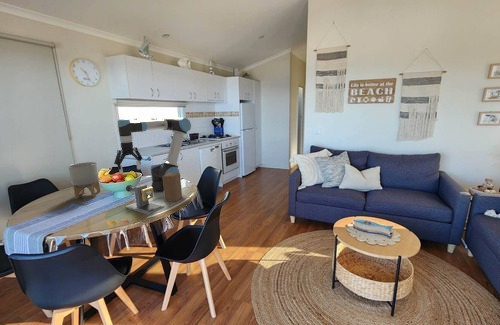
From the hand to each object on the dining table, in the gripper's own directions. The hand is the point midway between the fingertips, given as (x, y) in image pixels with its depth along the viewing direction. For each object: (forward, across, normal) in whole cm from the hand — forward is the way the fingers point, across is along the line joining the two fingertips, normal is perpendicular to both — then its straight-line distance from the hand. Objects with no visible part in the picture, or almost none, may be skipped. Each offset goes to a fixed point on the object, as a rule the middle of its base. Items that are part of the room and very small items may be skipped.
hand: (130, 171), depth 172 cm
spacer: (+18, 0, +16) cm, 24 cm away
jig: (+25, 0, +11) cm, 28 cm away
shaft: (+16, 0, +7) cm, 17 cm away
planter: (+26, +5, -54) cm, 60 cm away
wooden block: (+26, -21, +17) cm, 37 cm away
